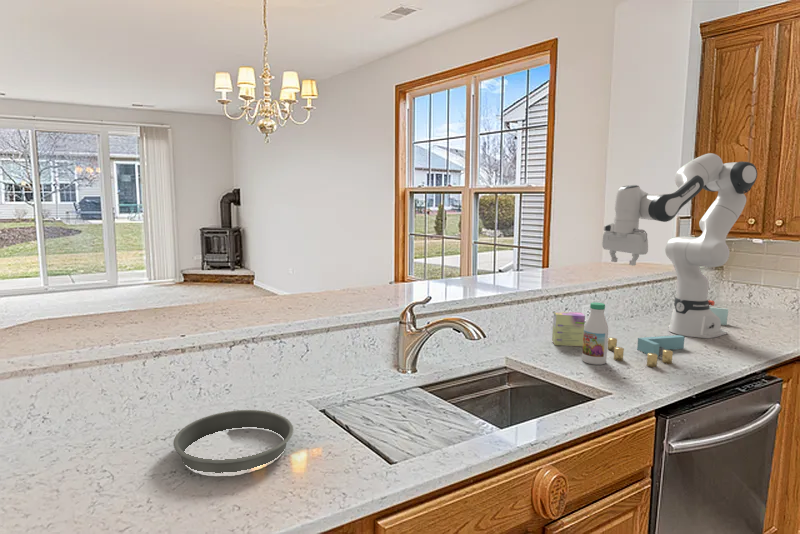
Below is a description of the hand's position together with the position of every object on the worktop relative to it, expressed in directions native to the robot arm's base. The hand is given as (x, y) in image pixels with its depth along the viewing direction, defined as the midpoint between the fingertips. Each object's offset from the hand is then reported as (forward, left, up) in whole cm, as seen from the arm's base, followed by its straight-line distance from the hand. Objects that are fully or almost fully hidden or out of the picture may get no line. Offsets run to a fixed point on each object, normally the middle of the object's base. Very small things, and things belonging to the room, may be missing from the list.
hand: (623, 263), depth 205 cm
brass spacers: (+15, +22, -29) cm, 40 cm away
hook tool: (-2, +22, -29) cm, 36 cm away
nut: (+3, +22, -29) cm, 37 cm away
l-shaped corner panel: (-60, -8, -30) cm, 67 cm away
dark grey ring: (+148, +45, -30) cm, 157 cm away
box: (+26, +2, -29) cm, 39 cm away
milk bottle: (+31, +22, -29) cm, 48 cm away
